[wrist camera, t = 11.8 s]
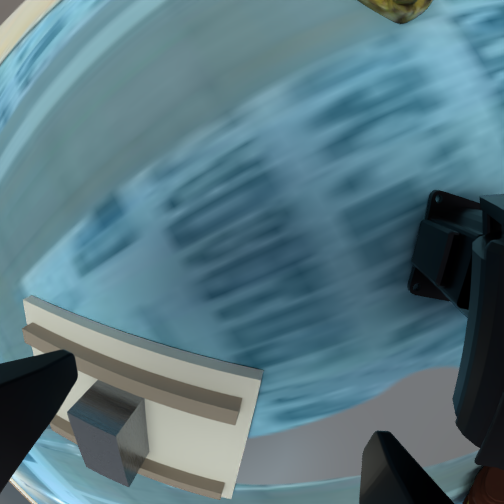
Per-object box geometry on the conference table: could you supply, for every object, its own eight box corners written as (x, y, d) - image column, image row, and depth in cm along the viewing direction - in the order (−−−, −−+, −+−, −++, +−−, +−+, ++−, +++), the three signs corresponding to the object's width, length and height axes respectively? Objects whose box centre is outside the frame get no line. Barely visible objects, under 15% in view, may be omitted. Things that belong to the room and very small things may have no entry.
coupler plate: (263, 370, 21) (257, 394, 18) (233, 490, 25) (228, 509, 23) (31, 295, 23) (12, 305, 21) (61, 423, 28) (50, 436, 25)
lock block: (144, 396, 22) (115, 436, 17) (149, 451, 24) (129, 487, 19) (98, 378, 22) (66, 412, 18) (109, 435, 24) (86, 466, 20)
